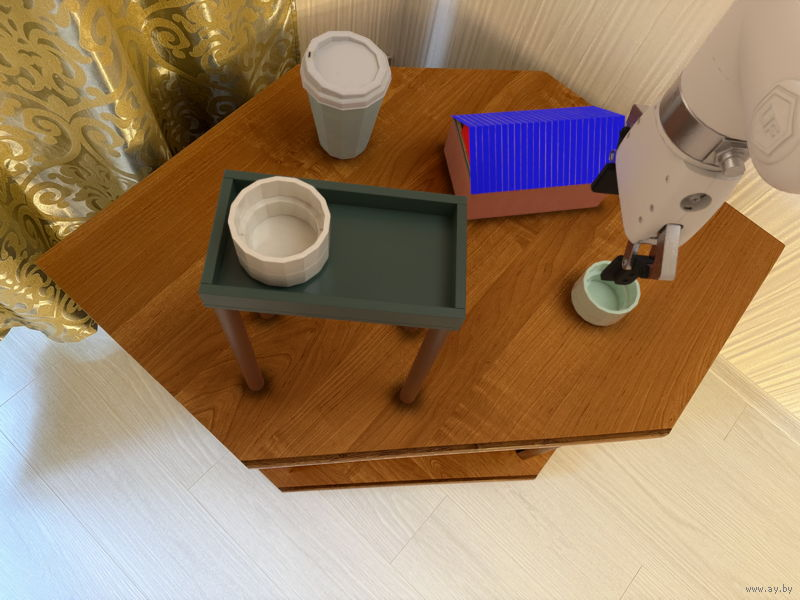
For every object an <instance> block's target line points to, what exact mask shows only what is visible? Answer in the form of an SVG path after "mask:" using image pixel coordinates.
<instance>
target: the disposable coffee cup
mask: <svg viewBox="0 0 800 600" xmlns="http://www.w3.org/2000/svg"><path fill="white" fill-rule="evenodd" d="M299 74H300V79H301V83H302V88H303V89H304V90H305V91H306V92H307V96H308V100H309V105H310V109H311V112H312V115H313V116H312V117H313V120H314V125H315V129H316V133H317V136H318V137H317V138H318V140H319V144H320V147H322V148H323V150H324V151H325V152H326V153H328V155H329V156H331V157H333V158H336V159H338V160H348V159H349V160H350V159H354V158H356V157H358V156H359V155H361V154H362V153H363V152H364V151H366V148H367V146H368V144H369V141H370V138H371V135H372V132H373V130H374V127H375V123H376V121H377V119H378V114H379V112H380V109H381V106H382V103H383V100H384V97H385V96H386V93H387V91H388V89H389V86H390V84H391V82H392V71H391V67H390V64H389V59H388V56H387V54H386V53H385V52H384V51H383V50H382V49H380V47H378V45H376V44H375V43H374V42H373V41H372V40H371V39H370V38H368V37H365V36H363V35H361V34H359V33H356V32H354V31H351V30H327V31H326V32H324V33H322V34H320V35H317V36H315V37H314V38H312V39H311V40H310V42H309V44H308V46H307V48H306V49H305V52H304V54H303V56H302V58H301V62H300V69H299Z"/></svg>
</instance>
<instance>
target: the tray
mask: <svg viewBox="0 0 800 600" xmlns="http://www.w3.org/2000/svg"><path fill="white" fill-rule="evenodd" d="M275 176H281V177H290V178H297V179H299V180H301V181H303V182H305V183H307V184H309V185H311V186H313V187H314V188H315V189H316V190H317V191H318V192H319V193H320V194H321V195H322V197H323V198H324V199H325V201H326V203H327V206H328V209H329V212H330V248H329V257H328V259H327V261H326V262H325V264H324V265H323V267H322V269H321V270H320V271H319V273H317V274H316V275H314V276H313V277H312V278H310V279H309V280H307V281H306V282H304V283H301V284H297V285H293V286H289V287H281V286H271V285H266V284H264V283H262V282H260V281H258V280H256V279H254V278H252V277H251V276H250V275H249V274H248V273H247V272H246V270H245V269H244V268H243V267H242V266H241V264H240V262H239V259H238V256H237V252H236V249H235V245H234V242H233V239H232V235H231V231H230V228H229V224H228V218H229V213H230V208H231V205H232V203H233V201H234V200H235V199H236V197H237V196H238V195H239V193H240V192H241V191H242V190H243V189H244V188H246V187H248V186H249V185H251V184H252V183H254V182H256V181H257V180H261V179H265V178H270V177H275ZM467 247H468V220H467V197H466V196H458V195H455V194H449V193H441V192H439V193H438V192H430V191H420V190H412V189H403V188H395V187H386V186H376V185H370V184H369V185H368V184H360V183H349V182H341V181H334V180H333V181H332V180H323V179H317V178H316V179H315V178H306V177H299V176H298V177H297V176H288V175H280V174H271V173H261V172H252V171H244V170H235V169H226V168H225V169H224V171H223V176H222V179H221V184H220V189H219V194H218V199H217V204H216V207H215V212H214V217H213V222H212V226H211V231H210V236H209V241H208V245H207V249H206V254H205V260H204V263H203V269H202V272H201V277H200V281H199V282H200V283H199V286H198V291H197V293H198V296H199V298H200V300H201V302H202V305H203V306H204V308H207V309H213V312H214V314H215V316H216V318H217V321H218V322H219V324H220V327H221V329H222V332H223V334H224V337H225V338H226V340H227V342H228V345H229V347H230V350H231V351H232V353H233V356H234V358H235V360H236V363H237V365H238V367H239V370H240V371H241V374H242V376H243V378H244V381H245V383H246V385H247V387H248V389H249V390H251V391H252V392H258V391H262V390H263V388H264V386H265V379H264V376H263V374H262V371H261V368H260V365H259V362H258V359H257V357H256V354H255V351H254V348H253V346H252V342H251V339H250V337H249V333H248V331H247V328H246V324H245V322H244V319H243V316H242V313H241V312H248V313H249V312H250V313H259V316H260V318H262V319H263V320H271V319H273V318H274V317H275V315H280V316H292V317H301V318H302V317H303V318H314V319H324V320H336V321H345V322H355V323H356V322H357V323H367V324H375V325H376V324H377V325H387V326H388V325H389V326H399V327H400V326H401V327H403V329H404V331H405V332H407V333H408V334H409V333H410V334H413V333H416V332H417V331H418V329H419V328H420V329H427V330H426V333H425V335H424V337H423V338H422V342H421V343H420V347H419V348H418V351H417V352H416V355H415V358H414V359H413V362H412V364H411V366H410V369H409V371H408V373H407V376H406V378H405V381H404V382H403V385H402V387H401V390H400V392H399V400H400V401H401V402H402V403H403V404H405V405H410V404H412V403H414V401H415V400H416V397H417V396H418V394H419V392H420V390H421V388H422V387H423V385H424V383H425V381H426V379H427V377H428V375H429V374H430V372H431V370H432V368H433V367H434V365H435V363H436V361H437V360H438V357H439V356H440V354H441V352H442V350H443V348H444V346H445V344H446V343H447V341H448V339H449V337H450V335H451V334H452V332H459V331H460V329H461V328H462V326H463V324H464V323H465V321H466V318H467V310H466V309H467V264H468V263H467V262H468V261H467V256H468V254H467V253H468V251H467V250H468V249H467Z"/></svg>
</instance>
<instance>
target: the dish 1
mask: <svg viewBox="0 0 800 600" xmlns="http://www.w3.org/2000/svg"><path fill="white" fill-rule="evenodd" d="M281 176H282V175H280V176H275V177H270V178H265V179H261V180H257V181H256V182H254V183H252V184H251V185H249V186H248V187H246V188H244V189H243V190H242V191H241V192H240V193H239V195H238V196H237V197H236V199H235V200H234V201H233V203H232V205H231V208H230V213H229V218H228V224H229V228H230V231H231V235H232V239H233V242H234V245H235V249H236V252H237V256H238V259H239V262H240V264H241V266H242V267H243V268H244V269H245V270H246V272H247V273H248V274H249V275H250V276H251V277H252V278H254V279H256V280H258V281H260V282H262V283H264V284H266V285H271V286H281V287H289V286H293V285H297V284H301V283H304V282H306V281H307V280H309V279H310V278H312V277H313V276H314V275H316V274H317V273H319V271H320V270H321V269H322V267H323V265H324V264H325V262H326V261H327V259H328V257H329V248H330V212H329V209H328V206H327V203H326V201H325V199H324V198H323V197H322V195H321V194H320V193H319V192H318V191H317V190H316V189H315V188H314V187H313V186H311V185H309V184H307V183H305V182H303V181H301V180H299V179H297V178H290V177H291V176H289V177H281Z"/></svg>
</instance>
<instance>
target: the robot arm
mask: <svg viewBox="0 0 800 600" xmlns="http://www.w3.org/2000/svg"><path fill="white" fill-rule="evenodd" d="M675 78H676V79H674V81H673V83H672V84H671V85H670V86H669V87H668V88H667V89H665V90H664V91H663V92H662V93H661V94H660V95H659V96H658V97H657V98H656V99H655V100H654V101H653V103H651V104H650V105H646V104H641V103H634V104H633V105H632V106H631V109H630V111H629V114H628V116H627V119H626V121H625V126H624V127H623V128H622V129H621V130H620V132H619V140H618V144H617V149H616V150H615V149H612V150H611V152H610V154H609V162H611V163H606V165H605V166H604V168H603V169H602V170H601V172H600V173H599V174H598V176H597V177H596V179H595V180H594V181H593V183H592V184H591V191H593V192H594V193H604V194H607V195H613V196H618V197H619V205H620V211H621V219H622V225H623V231H624V234H625V237H626V238H627V239H628V240H627V243H626V247H625V250H624V253H623V254H617V256H615V257H614V259H612V260H611V261H612V262H611V263H610V264H609V265H608V266H607V267H606V268H605V269H604V270H603V271H602V273H601V274H600V277H601V280H603V281H614V283H615V284H617V285H629V284H631V283H632V282H634V281H635V280H636V279H637V280H638V279H644V280H654V281H664V282H665V281H666V282H673V281H674V280H675V278H676V275H677V266H678V259H679V251H680V250H679V249H680V247H681V246H683V245H685V244H686V243H687V242H688V241H689V240H690V239H691V238H692V237H694V235H696V234H697V233H698V232H699V231H700V230H701V228H703V226H704V225H705V224H707V222H709V220H711V218H712V217H713V216H714V215H715V214H716V213H717V211H719V209H720V208H721V207H722V206H723V204H725V202H726V201H727V200H728V199H729V197H730V196H731V194H732V193H733V191H734V190H735V189H736V187H738V184H739V183H740V181H741V179H742V178H743V176H744V175H745V172H746V170H747V169H746V165H745V163H747V162H748V161H749V160H750V159H751V163H752V166H753V167H754V169H755V171H756V172H757V174H758V175H759V177H760V178H761V180H763V181H764V182H765V183H766V184H767V185H769V186H770V187H772V188H773V189H775V190H778V191H780V192H784V193H787V194H792V195H800V0H733V2H732V4H730V6H729V7H728V9H727V10H726V11H725V12H724V14H723V15H722V17H721V18H720V19H719V21H718V22H717V23H716V25H715V26H714V27H713V29H712V30H711V31H710V33H709V34H708V35H707V37H706V38H705V39H704V41H703V42H702V44H701V45H700V46H699V47H698V49H697V51H695V53H694V54H693V56H692V57H691V58H690V60H689V61H688V62H687V64H686V65H685V66H684V68H683V69H682V70H681V71H680V73H679V74H678V75H677V77H675ZM641 245H650V246H651V247H650V250H649V253H648V255H645V254H638V253H639V249H640V246H641Z"/></svg>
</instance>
